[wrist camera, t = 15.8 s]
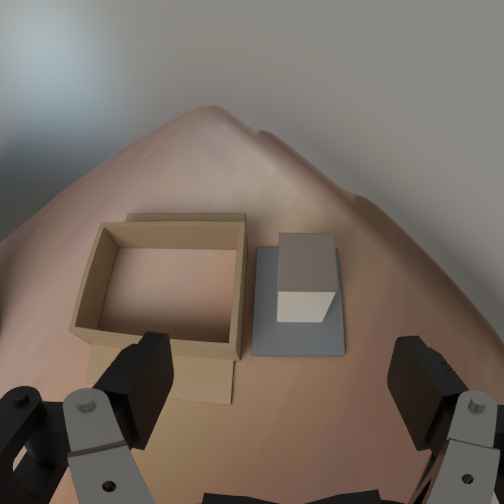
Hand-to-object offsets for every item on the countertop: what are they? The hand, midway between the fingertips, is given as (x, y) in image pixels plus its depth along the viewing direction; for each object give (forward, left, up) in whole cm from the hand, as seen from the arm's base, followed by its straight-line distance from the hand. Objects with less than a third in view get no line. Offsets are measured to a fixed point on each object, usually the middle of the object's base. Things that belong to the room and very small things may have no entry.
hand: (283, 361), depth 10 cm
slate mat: (+2, +11, -20) cm, 22 cm away
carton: (-12, +11, -20) cm, 25 cm away
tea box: (+2, +10, -19) cm, 22 cm away
